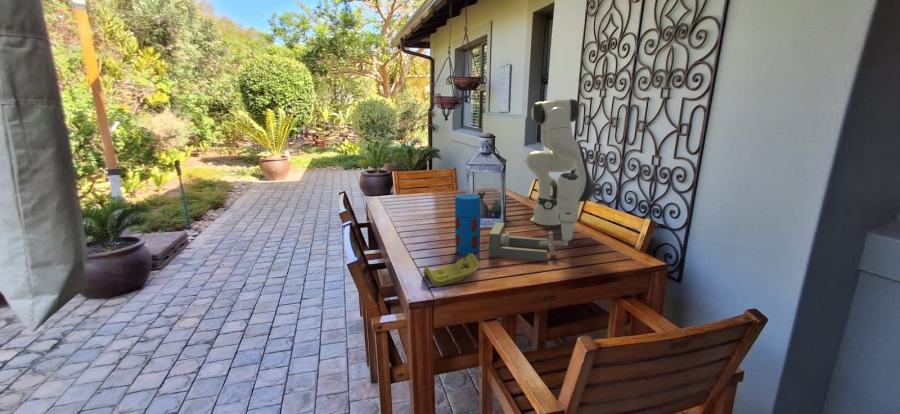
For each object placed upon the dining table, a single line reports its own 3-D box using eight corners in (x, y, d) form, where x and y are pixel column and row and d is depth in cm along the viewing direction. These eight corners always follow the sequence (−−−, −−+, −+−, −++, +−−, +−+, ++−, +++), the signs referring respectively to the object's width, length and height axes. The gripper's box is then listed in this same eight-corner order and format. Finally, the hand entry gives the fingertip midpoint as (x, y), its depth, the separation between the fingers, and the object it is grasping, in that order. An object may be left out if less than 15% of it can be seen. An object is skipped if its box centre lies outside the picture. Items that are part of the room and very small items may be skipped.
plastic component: (436, 283, 139) (424, 263, 145) (433, 296, 143) (422, 276, 150) (483, 268, 148) (470, 250, 154) (479, 281, 152) (467, 263, 159)
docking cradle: (495, 243, 186) (495, 222, 183) (548, 247, 179) (549, 226, 177) (488, 255, 170) (489, 233, 168) (546, 261, 164) (547, 238, 161)
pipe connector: (564, 258, 164) (562, 235, 163) (539, 258, 167) (538, 235, 165) (564, 250, 174) (562, 228, 172) (540, 251, 177) (539, 229, 175)
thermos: (464, 258, 168) (464, 200, 162) (450, 250, 176) (450, 195, 170) (484, 252, 174) (485, 197, 167) (470, 246, 182) (470, 192, 176)
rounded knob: (493, 243, 180) (493, 229, 179) (509, 244, 179) (509, 230, 177) (491, 247, 174) (491, 233, 173) (507, 249, 173) (507, 235, 171)
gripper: (559, 207, 175) (557, 237, 178) (559, 218, 156) (557, 251, 159) (574, 207, 174) (572, 237, 177) (576, 219, 155) (574, 252, 158)
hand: (565, 244), depth 168 cm, fingers closed, pressing on pipe connector
